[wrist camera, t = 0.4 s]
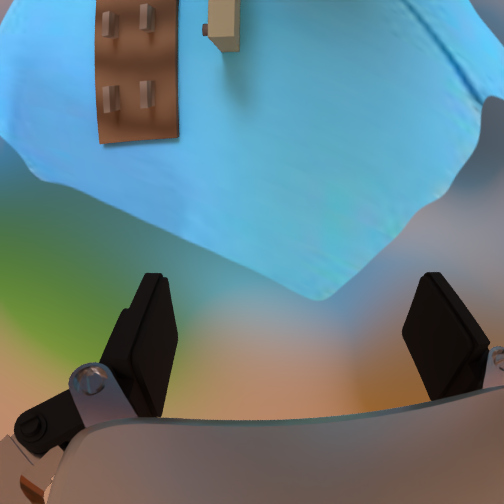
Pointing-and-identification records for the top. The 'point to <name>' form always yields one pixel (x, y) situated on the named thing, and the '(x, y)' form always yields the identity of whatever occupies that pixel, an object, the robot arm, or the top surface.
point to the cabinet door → (223, 24)
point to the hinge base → (136, 69)
